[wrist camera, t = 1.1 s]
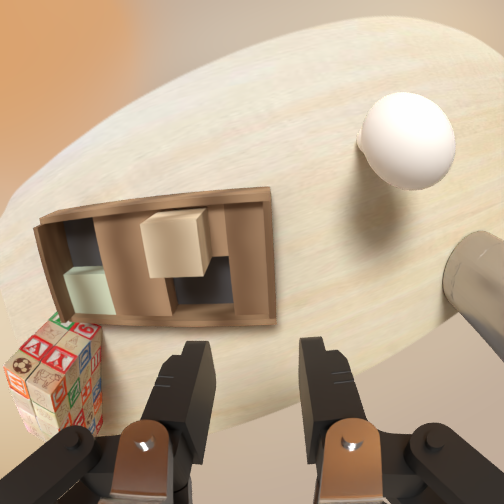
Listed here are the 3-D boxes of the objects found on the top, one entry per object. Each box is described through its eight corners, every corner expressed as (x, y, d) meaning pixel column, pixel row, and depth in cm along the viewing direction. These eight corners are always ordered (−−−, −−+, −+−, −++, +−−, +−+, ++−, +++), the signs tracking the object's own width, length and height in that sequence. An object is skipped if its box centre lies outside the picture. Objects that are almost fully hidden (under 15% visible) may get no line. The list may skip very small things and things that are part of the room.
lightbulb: (398, 176, 24) (472, 201, 13) (334, 175, 24) (382, 197, 14) (397, 109, 22) (472, 96, 11) (331, 104, 22) (379, 77, 12)
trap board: (269, 186, 25) (270, 195, 20) (275, 305, 28) (277, 332, 24) (58, 210, 26) (31, 221, 22) (83, 306, 30) (63, 327, 25)
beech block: (207, 206, 23) (196, 219, 19) (212, 255, 24) (203, 276, 20) (158, 211, 23) (139, 224, 19) (166, 257, 24) (150, 278, 21)
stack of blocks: (104, 422, 38) (78, 480, 26) (71, 407, 37) (41, 460, 26) (102, 324, 31) (49, 397, 19) (59, 305, 30) (0, 366, 19)
